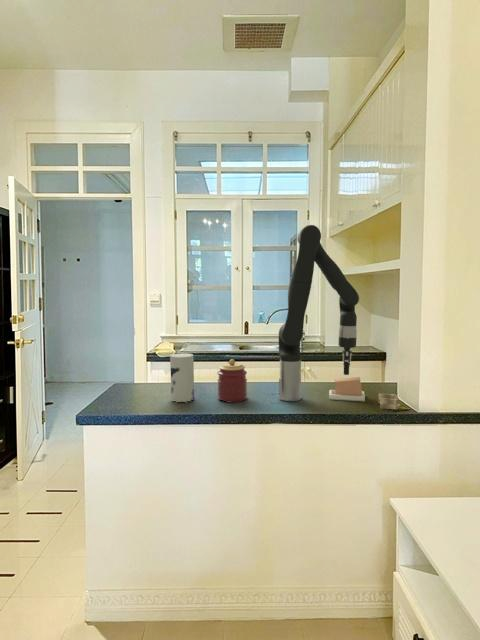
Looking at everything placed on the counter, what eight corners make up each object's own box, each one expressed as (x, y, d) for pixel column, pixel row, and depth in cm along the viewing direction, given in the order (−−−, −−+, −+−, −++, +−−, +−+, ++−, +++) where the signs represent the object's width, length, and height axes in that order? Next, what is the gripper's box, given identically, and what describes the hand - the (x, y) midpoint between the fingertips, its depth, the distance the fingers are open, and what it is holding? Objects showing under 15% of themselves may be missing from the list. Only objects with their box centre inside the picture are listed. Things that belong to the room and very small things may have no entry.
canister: (219, 394, 196) (218, 356, 195) (247, 394, 196) (247, 356, 194) (216, 403, 183) (215, 362, 182) (247, 402, 183) (246, 362, 181)
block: (336, 397, 188) (334, 381, 188) (336, 394, 193) (334, 379, 192) (362, 395, 185) (359, 379, 185) (362, 392, 190) (359, 377, 189)
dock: (380, 408, 173) (380, 398, 172) (378, 403, 180) (378, 393, 180) (398, 409, 171) (398, 399, 171) (396, 403, 179) (396, 394, 178)
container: (166, 400, 188) (165, 355, 187) (184, 395, 196) (183, 352, 194) (181, 404, 182) (180, 357, 180) (198, 399, 189) (198, 354, 187)
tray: (328, 399, 187) (329, 394, 186) (329, 394, 195) (329, 389, 195) (364, 401, 183) (364, 396, 183) (363, 395, 192) (363, 391, 192)
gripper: (339, 333, 194) (337, 369, 196) (338, 337, 181) (337, 375, 182) (356, 334, 193) (354, 370, 194) (357, 338, 179) (355, 376, 180)
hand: (346, 372), depth 188 cm, fingers open, 8 cm apart
